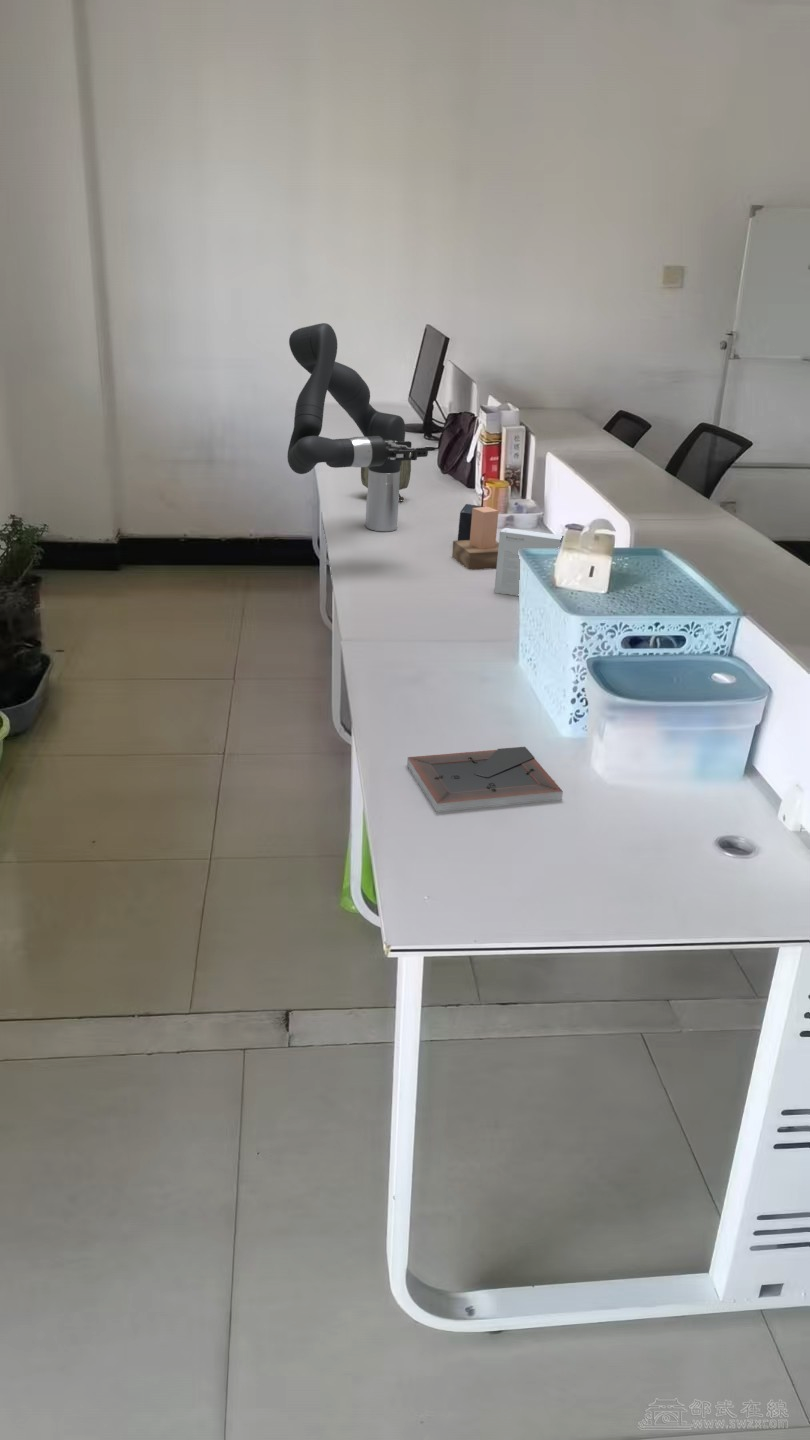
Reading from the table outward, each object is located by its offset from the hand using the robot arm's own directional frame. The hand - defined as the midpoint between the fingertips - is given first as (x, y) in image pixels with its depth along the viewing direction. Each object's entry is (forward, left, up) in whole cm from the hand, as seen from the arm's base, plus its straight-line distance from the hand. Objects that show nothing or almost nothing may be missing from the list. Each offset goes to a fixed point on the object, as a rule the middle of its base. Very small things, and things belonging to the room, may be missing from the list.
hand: (418, 448), depth 288 cm
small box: (-8, +24, -30) cm, 40 cm away
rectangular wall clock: (+116, -54, -31) cm, 132 cm away
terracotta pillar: (+8, +17, -26) cm, 32 cm away
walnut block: (+8, +17, -31) cm, 36 cm away
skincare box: (+38, +14, -30) cm, 51 cm away
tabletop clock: (-62, +25, -30) cm, 73 cm away
